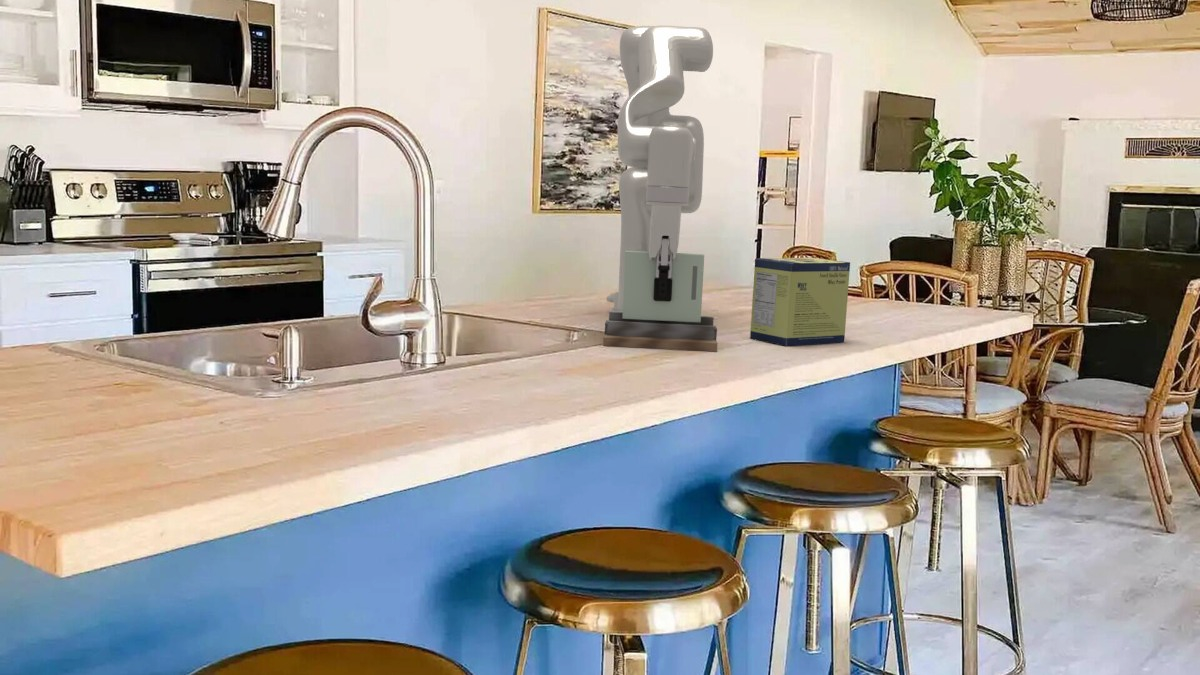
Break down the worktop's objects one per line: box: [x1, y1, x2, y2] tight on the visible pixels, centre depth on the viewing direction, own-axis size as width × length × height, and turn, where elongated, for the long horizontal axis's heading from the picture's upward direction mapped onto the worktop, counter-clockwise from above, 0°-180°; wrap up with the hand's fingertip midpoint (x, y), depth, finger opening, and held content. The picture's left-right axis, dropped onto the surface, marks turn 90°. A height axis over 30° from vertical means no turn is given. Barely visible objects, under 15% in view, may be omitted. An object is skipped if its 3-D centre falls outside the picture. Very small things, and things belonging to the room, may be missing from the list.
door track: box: [602, 311, 718, 353], centre depth 213 cm, size 20×12×5 cm, turn 87°
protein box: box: [749, 256, 851, 347], centre depth 224 cm, size 10×16×16 cm
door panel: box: [622, 251, 705, 322], centre depth 211 cm, size 14×3×12 cm, turn 87°
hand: (662, 299), depth 212 cm, fingers closed on door panel, 3 cm apart
